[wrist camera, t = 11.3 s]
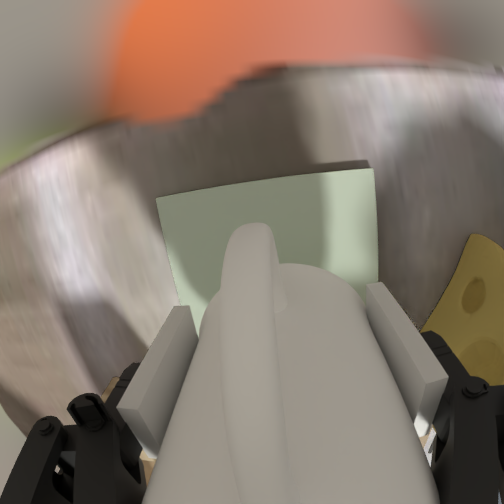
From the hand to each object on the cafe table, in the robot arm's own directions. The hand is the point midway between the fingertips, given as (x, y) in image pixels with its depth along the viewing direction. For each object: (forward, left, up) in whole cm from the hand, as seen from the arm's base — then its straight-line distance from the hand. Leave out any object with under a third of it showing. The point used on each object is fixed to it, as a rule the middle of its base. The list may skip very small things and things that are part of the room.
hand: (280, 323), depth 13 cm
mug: (0, 0, -1) cm, 1 cm away
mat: (0, 0, -5) cm, 5 cm away
